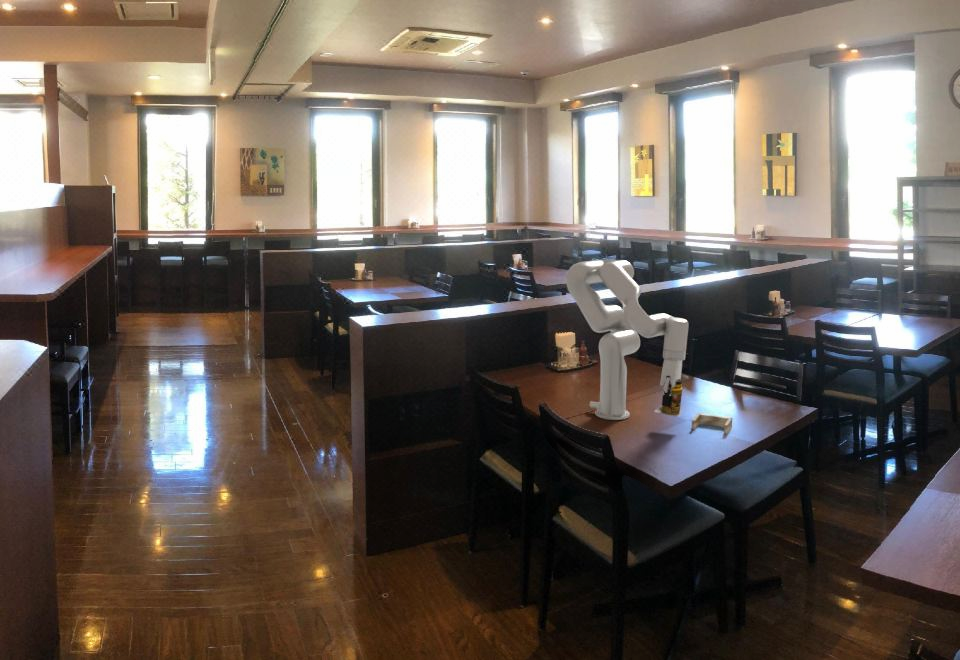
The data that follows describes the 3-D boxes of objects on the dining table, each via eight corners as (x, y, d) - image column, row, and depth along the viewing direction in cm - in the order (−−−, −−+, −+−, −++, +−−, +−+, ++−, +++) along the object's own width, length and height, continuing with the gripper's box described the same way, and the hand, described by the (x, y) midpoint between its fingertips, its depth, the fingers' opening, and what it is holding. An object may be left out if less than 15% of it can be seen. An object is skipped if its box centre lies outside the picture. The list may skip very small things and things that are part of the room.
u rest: (691, 429, 267) (692, 420, 267) (697, 422, 275) (697, 413, 274) (726, 434, 262) (727, 425, 261) (731, 427, 269) (732, 418, 269)
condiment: (677, 417, 262) (681, 383, 259) (653, 412, 265) (656, 379, 263) (683, 411, 268) (686, 378, 265) (659, 406, 272) (662, 374, 269)
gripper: (670, 347, 271) (665, 395, 275) (656, 357, 256) (651, 408, 260) (691, 350, 267) (685, 399, 271) (678, 361, 252) (673, 412, 257)
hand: (669, 403), depth 266 cm, fingers closed on condiment, 6 cm apart
